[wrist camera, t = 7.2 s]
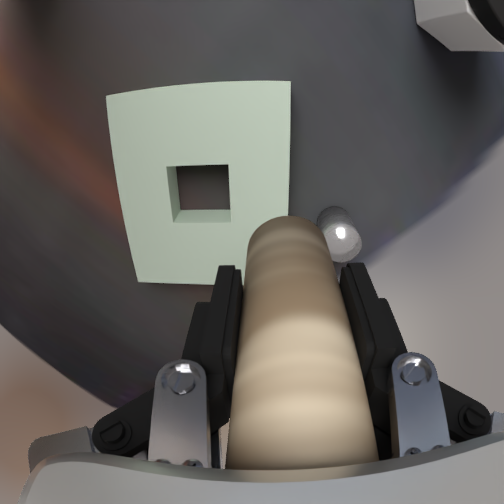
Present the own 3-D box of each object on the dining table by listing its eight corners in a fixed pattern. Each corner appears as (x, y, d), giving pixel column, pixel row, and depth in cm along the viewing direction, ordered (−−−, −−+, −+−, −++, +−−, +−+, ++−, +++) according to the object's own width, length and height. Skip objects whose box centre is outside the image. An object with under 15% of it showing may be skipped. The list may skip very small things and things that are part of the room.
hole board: (119, 93, 26) (105, 95, 24) (288, 81, 25) (290, 81, 23) (146, 266, 36) (138, 281, 34) (283, 269, 36) (284, 285, 33)
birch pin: (245, 216, 13) (200, 567, 3) (330, 215, 13) (418, 549, 3) (249, 284, 15) (226, 567, 5) (324, 283, 15) (365, 560, 5)
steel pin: (318, 205, 32) (326, 228, 27) (351, 206, 31) (364, 229, 27) (315, 236, 33) (322, 262, 29) (347, 236, 33) (358, 262, 29)
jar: (436, 60, 22) (514, 65, 12) (393, -11, 19) (456, -44, 9) (490, 35, 19) (568, 39, 9) (453, -31, 16) (523, -54, 6)
